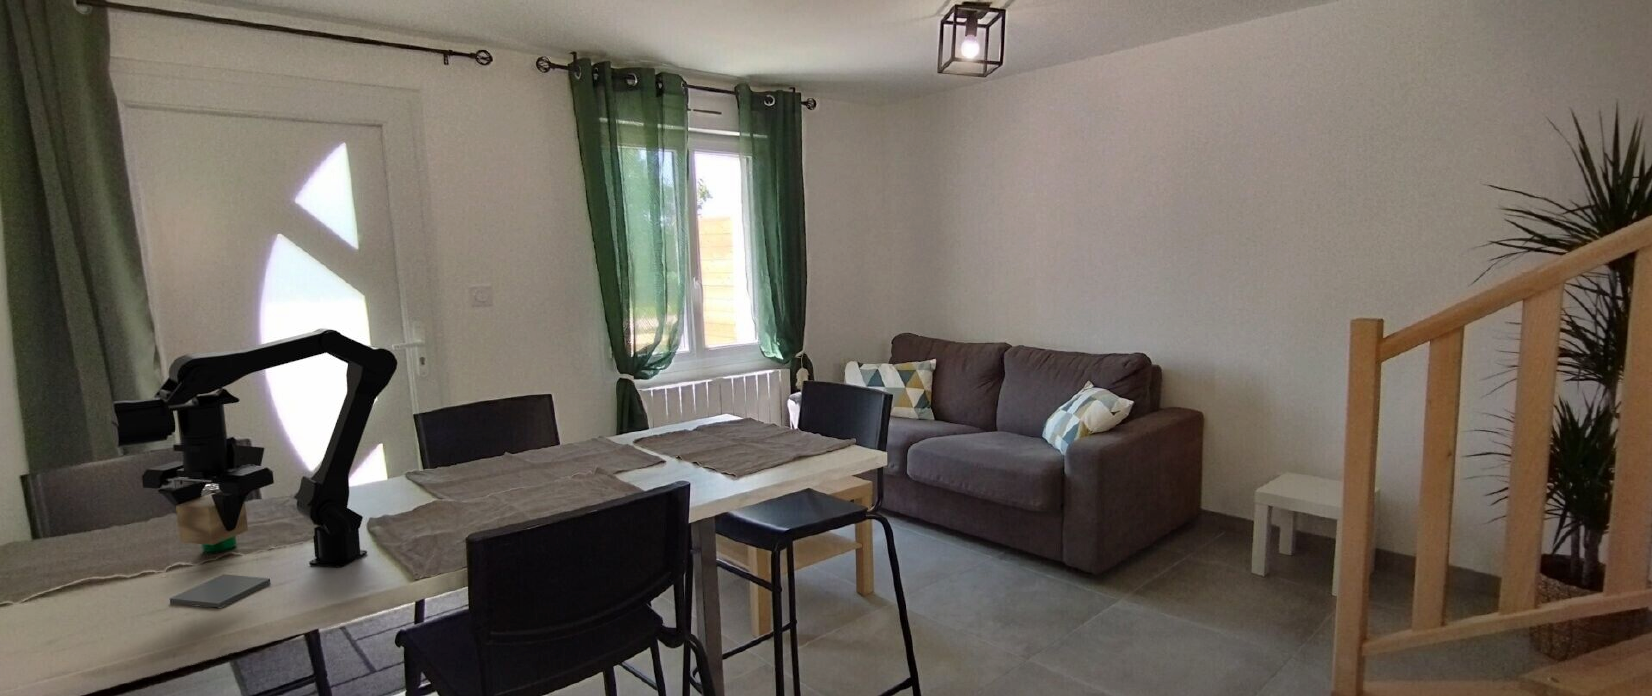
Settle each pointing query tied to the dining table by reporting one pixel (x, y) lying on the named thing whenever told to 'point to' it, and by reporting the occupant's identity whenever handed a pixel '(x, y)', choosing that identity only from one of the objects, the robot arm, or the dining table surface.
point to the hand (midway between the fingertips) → (214, 528)
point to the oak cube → (205, 522)
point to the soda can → (226, 543)
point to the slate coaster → (220, 591)
